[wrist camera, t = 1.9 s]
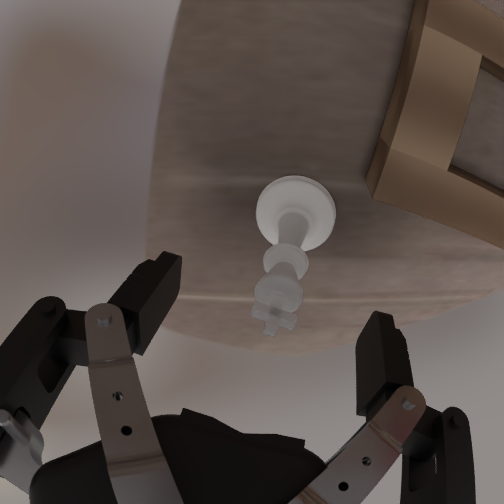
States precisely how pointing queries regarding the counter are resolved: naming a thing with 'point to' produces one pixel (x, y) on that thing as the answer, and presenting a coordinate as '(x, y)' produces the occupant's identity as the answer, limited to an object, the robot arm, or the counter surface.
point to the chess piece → (289, 245)
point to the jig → (440, 119)
